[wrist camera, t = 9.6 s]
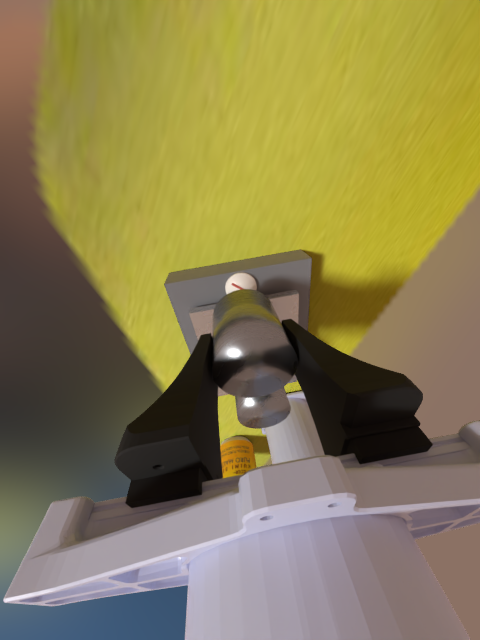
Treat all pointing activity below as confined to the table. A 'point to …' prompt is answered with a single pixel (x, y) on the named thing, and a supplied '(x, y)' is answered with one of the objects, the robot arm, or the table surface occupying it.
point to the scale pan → (282, 301)
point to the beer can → (237, 456)
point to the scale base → (239, 285)
